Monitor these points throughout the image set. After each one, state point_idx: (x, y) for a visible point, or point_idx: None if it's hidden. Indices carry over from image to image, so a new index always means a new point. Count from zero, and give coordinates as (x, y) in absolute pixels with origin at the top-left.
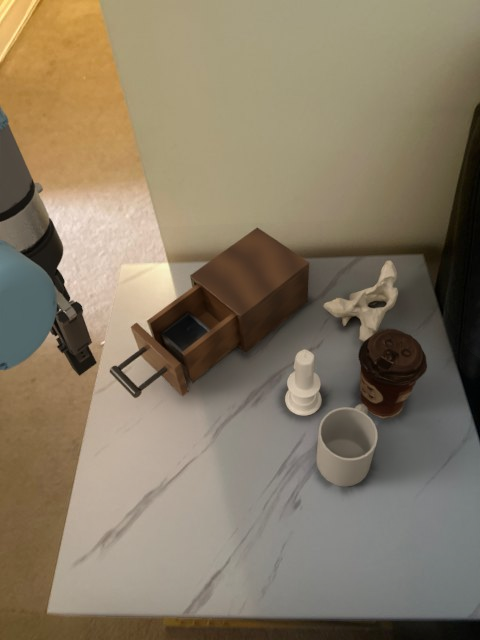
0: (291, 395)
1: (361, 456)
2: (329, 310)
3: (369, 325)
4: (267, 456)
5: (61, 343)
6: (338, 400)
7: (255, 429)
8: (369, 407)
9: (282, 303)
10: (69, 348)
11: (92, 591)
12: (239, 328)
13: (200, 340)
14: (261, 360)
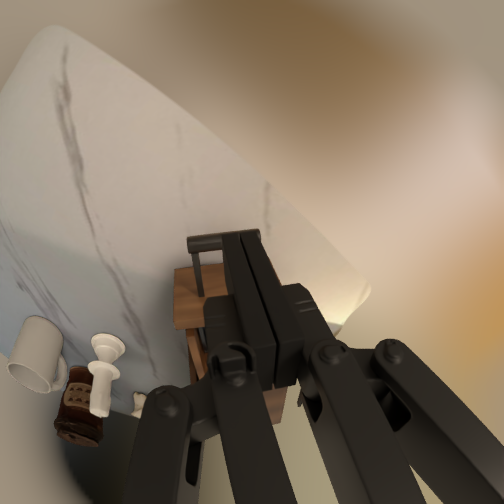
0: (109, 347)
1: (9, 371)
2: None
3: (139, 412)
4: (65, 294)
5: (254, 368)
6: (96, 359)
7: (96, 301)
8: (78, 370)
9: None
10: (177, 413)
11: (31, 61)
12: (195, 371)
13: (196, 356)
14: (169, 342)
